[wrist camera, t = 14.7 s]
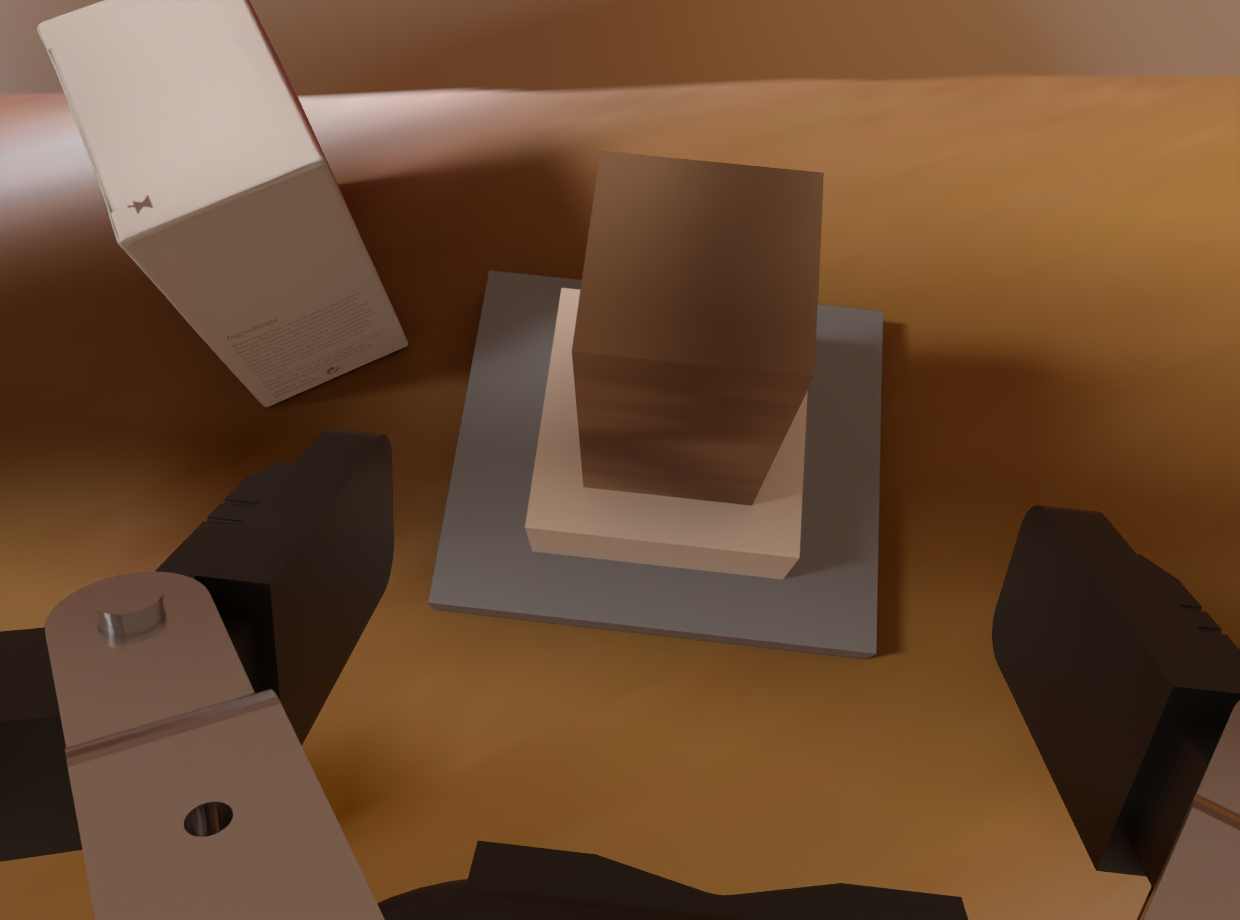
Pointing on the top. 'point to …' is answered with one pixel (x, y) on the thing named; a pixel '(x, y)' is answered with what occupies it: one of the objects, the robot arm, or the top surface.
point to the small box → (223, 188)
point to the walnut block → (694, 324)
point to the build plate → (650, 593)
